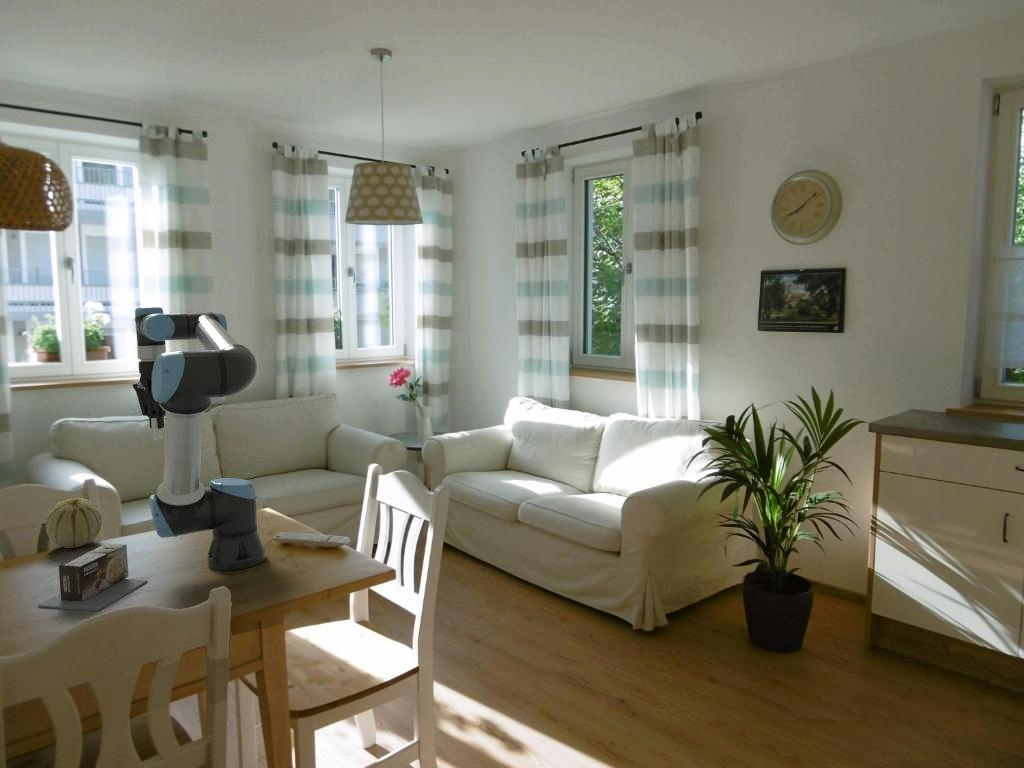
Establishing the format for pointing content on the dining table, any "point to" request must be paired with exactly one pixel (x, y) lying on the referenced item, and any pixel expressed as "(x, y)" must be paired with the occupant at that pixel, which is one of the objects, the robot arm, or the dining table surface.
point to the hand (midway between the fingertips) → (157, 439)
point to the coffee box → (93, 572)
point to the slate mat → (96, 597)
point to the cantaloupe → (73, 522)
